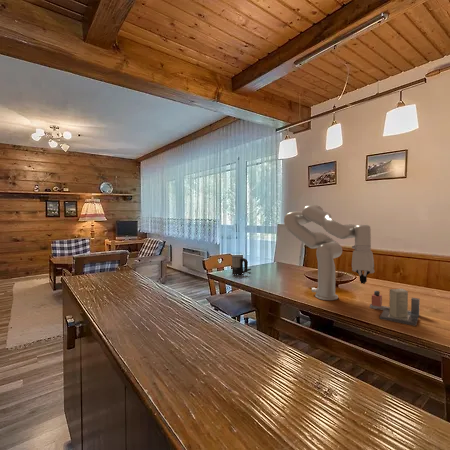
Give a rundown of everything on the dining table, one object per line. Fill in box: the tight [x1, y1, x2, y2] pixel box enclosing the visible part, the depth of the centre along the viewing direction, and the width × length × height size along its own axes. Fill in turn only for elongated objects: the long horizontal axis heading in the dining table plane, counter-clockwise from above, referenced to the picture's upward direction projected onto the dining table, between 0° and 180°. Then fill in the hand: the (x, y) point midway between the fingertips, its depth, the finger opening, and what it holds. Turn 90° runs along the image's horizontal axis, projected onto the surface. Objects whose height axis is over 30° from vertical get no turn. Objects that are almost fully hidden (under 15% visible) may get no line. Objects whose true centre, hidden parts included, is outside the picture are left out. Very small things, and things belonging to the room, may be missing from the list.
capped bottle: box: [371, 290, 383, 307], centre depth 145 cm, size 4×4×7 cm
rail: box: [369, 297, 420, 318], centre depth 140 cm, size 21×3×8 cm, turn 51°
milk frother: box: [231, 255, 252, 275], centre depth 231 cm, size 14×16×15 cm
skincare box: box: [388, 288, 409, 317], centre depth 131 cm, size 6×4×12 cm
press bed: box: [379, 310, 419, 327], centre depth 131 cm, size 14×10×1 cm
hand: (363, 283), depth 149 cm, fingers closed
